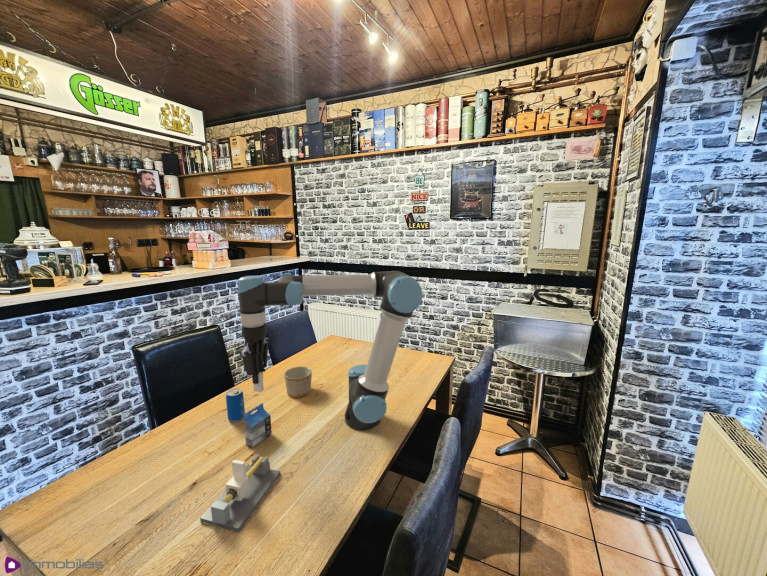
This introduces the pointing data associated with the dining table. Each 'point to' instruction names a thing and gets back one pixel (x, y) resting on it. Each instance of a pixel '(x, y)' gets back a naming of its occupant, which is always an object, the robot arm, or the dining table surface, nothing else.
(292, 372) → the planter
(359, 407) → the robot arm
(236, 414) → the beverage can
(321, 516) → the dining table surface
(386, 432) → the dining table surface
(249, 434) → the label tape cartridge
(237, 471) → the white slider carriage
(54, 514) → the dining table surface
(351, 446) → the dining table surface
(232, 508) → the linear slide rail
